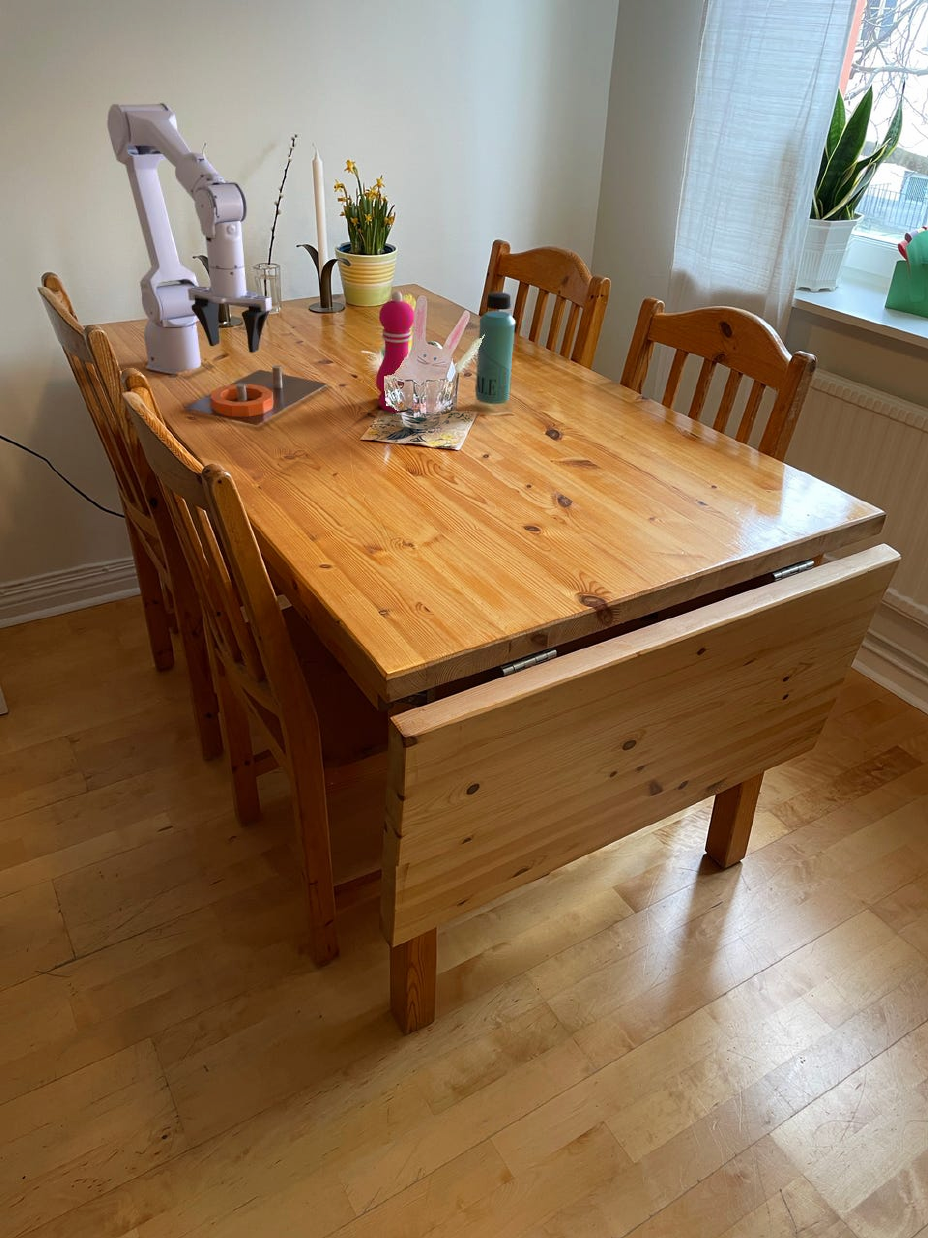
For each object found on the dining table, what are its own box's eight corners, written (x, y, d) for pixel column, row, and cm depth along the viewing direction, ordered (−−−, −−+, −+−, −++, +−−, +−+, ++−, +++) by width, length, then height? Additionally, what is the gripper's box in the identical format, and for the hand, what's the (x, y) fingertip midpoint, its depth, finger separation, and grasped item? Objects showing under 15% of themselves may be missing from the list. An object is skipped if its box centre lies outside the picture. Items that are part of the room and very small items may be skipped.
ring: (199, 409, 152) (197, 397, 151) (235, 390, 160) (234, 379, 159) (250, 421, 149) (249, 409, 148) (284, 401, 157) (284, 390, 156)
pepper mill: (410, 415, 157) (412, 299, 146) (371, 410, 158) (370, 294, 147) (420, 401, 163) (423, 288, 152) (382, 396, 164) (382, 284, 153)
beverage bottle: (510, 400, 165) (519, 289, 154) (508, 414, 160) (517, 300, 149) (475, 397, 166) (482, 286, 154) (472, 410, 160) (478, 296, 149)
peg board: (183, 412, 153) (180, 386, 151) (260, 373, 171) (258, 350, 168) (257, 429, 149) (254, 403, 146) (328, 387, 166) (327, 364, 164)
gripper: (173, 264, 144) (184, 348, 152) (254, 275, 141) (260, 360, 148) (197, 255, 150) (206, 336, 157) (275, 266, 146) (280, 348, 154)
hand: (234, 347), depth 153 cm, fingers open, 7 cm apart
